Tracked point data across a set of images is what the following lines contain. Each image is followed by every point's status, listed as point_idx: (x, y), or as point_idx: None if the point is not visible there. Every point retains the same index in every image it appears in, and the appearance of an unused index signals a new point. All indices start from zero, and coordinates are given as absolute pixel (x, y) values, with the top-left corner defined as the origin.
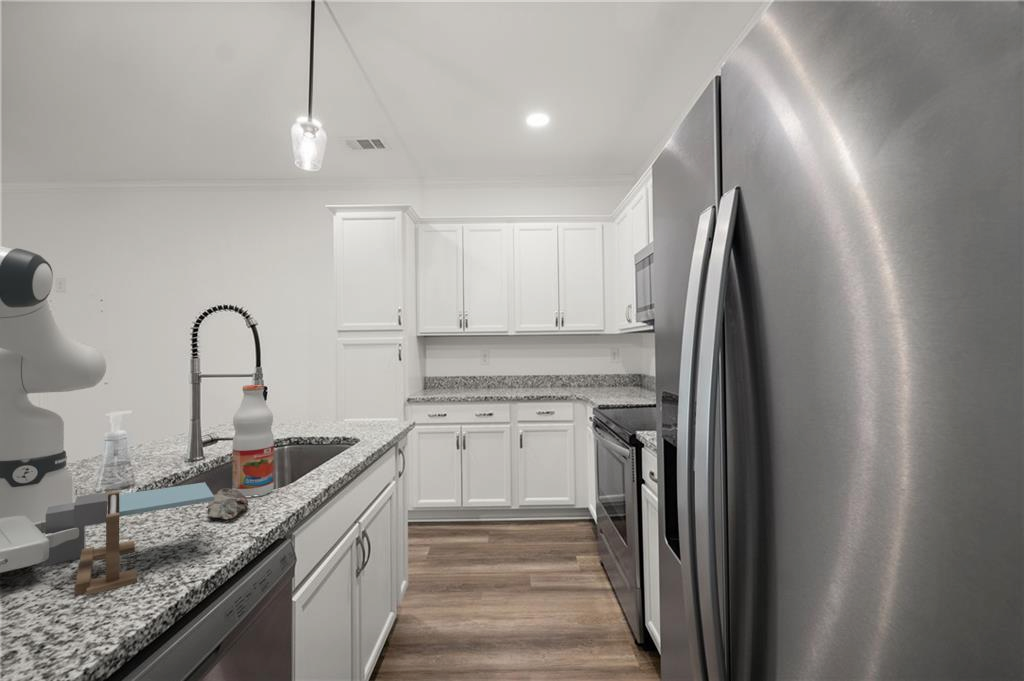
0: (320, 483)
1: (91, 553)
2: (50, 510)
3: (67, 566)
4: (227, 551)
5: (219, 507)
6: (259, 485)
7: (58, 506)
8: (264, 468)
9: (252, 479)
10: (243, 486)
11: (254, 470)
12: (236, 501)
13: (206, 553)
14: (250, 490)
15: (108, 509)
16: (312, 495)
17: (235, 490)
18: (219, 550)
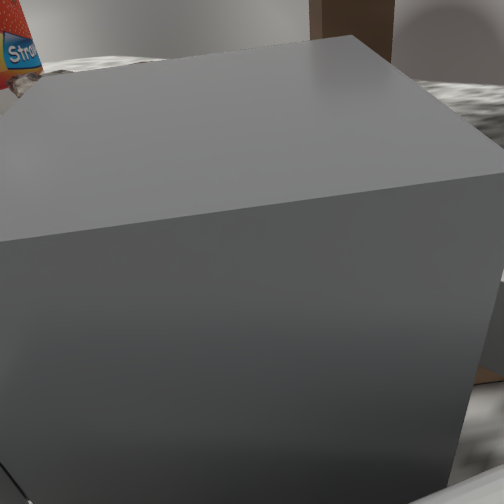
0: (76, 60)
1: None
2: (258, 176)
3: (479, 447)
4: (498, 97)
5: None
6: (39, 66)
7: (42, 163)
8: (21, 8)
9: (22, 47)
10: (10, 77)
11: (14, 13)
12: None
13: (497, 118)
14: None
15: (390, 30)
16: (157, 60)
17: (56, 71)
18: (483, 106)
